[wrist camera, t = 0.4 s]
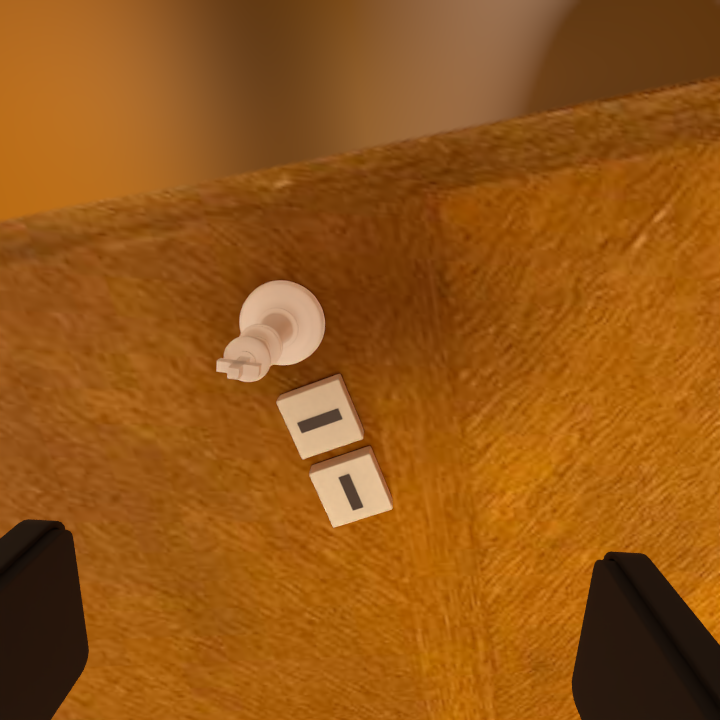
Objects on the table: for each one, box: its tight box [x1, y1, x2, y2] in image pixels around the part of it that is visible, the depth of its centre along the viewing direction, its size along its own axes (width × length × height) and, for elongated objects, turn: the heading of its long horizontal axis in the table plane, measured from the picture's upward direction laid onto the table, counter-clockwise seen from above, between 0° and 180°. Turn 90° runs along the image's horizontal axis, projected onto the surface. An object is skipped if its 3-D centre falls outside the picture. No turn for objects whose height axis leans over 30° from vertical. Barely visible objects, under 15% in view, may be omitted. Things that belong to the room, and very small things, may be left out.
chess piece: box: [216, 280, 325, 382], centre depth 24 cm, size 5×5×10 cm
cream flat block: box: [276, 374, 393, 528], centre depth 30 cm, size 9×4×1 cm, turn 21°
